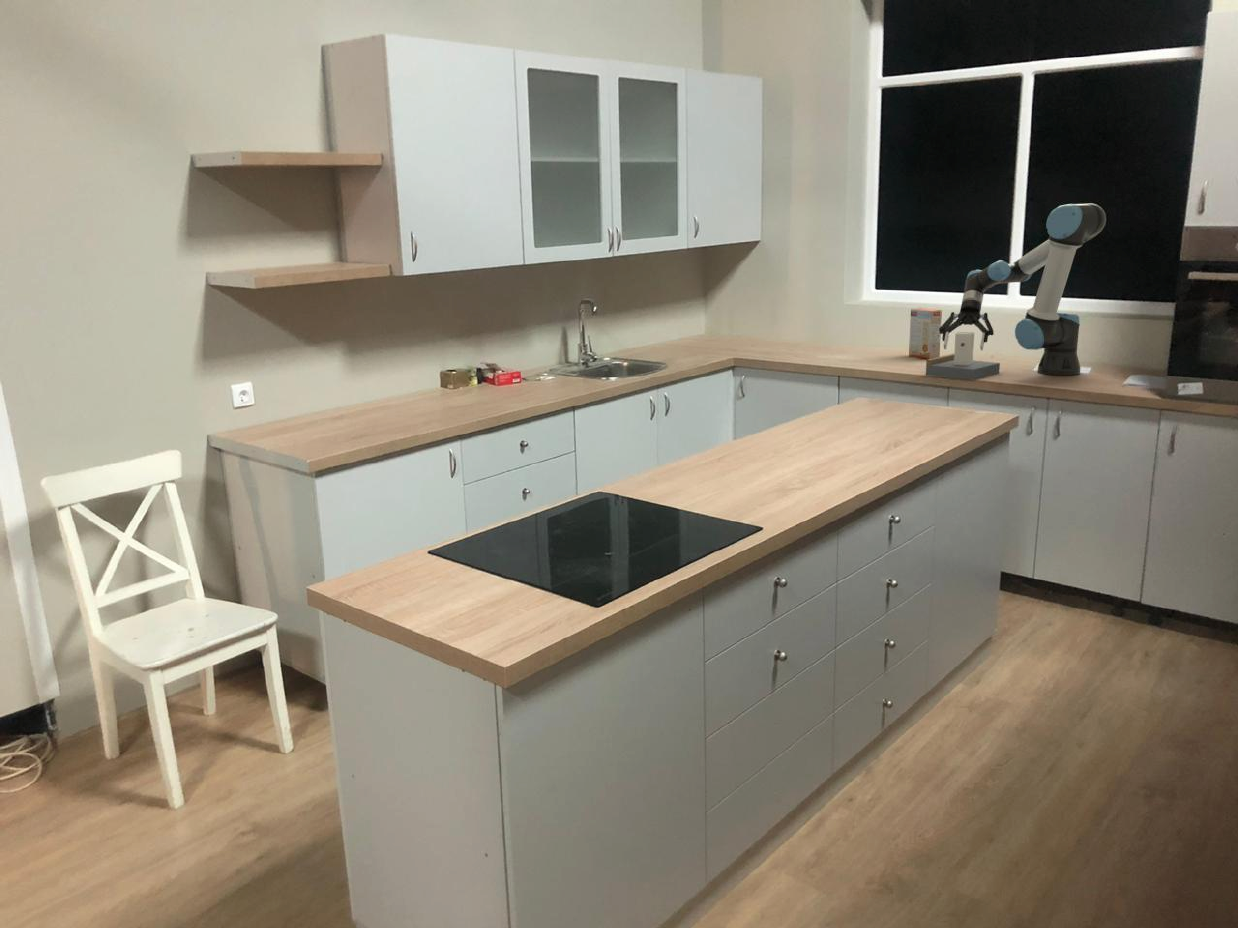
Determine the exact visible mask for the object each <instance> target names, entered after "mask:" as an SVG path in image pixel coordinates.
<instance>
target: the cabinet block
mask: <svg viewBox="0 0 1238 928" xmlns="http://www.w3.org/2000/svg"><path fill="white" fill-rule="evenodd" d="M954 336H955V338H954V353H953V354H954V365H971V364H972V363H973V360H974V359H973V358H974V341H975V332H971V331H970V332H968V331H967V332H966V331H965V332H964V331H958V332H956V333H955V335H954Z"/></svg>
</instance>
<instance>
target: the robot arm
mask: <svg viewBox="0 0 1238 928" xmlns="http://www.w3.org/2000/svg"><path fill="white" fill-rule="evenodd" d="M1106 224H1107V216H1106V212H1105V211H1104V209H1103V208H1102V207H1101V206H1099V205H1098V204H1095V203H1068V204H1063V205H1059V206H1058V207H1056V208H1054V209H1053V210H1052V211H1051V212H1050V213H1049V215H1048V216H1047V219H1046V224H1045V225H1046V227H1045V228H1046V229H1047V233H1048V235H1049V236H1048V239H1047V240H1045V241H1044V242H1042V243H1041V244H1039V245H1038V246H1036V247H1034V248H1033V249H1032V250H1030V251H1029V252H1027V253H1026V254H1024V256H1023V255H1022V257H1020V258H1019V259H1017V260H1015V261H1014V262H1011V263H1008V262H1006V261H1004V260H1001V259H999V260H997V261H995V262H993V263H990V264H989V266H987V267H985V268H984V269H982V270H981V269H975V270H971V271H969V272H968V274H967V276H966V279H965V284H964V292H963V296H962V299H961V300H962V301H961V306H960V310H959V312H958V313H955V312H953V311H952V312H950V315H949V317H948V318H947V319H946V320H945V321H944V323H943V324H941V327H940V328H939V332H940V334H941V335H942V338H941V339H942V342H943V349H944V350H947V347H948V342H949V337H950V335H949V334H950V333H952V332H953V331H954V330H955V329H957V328H958V327H961V326H962V325H964V326H966V325H969V326H972V325H974V326H975V327H977V329H978V330H979V331H980V332H981V339H980V344H979V347H980V348H979V349H980V351H983V349H984V345H985V343H988V338H989V337H990V336H993V335H995V334H994V333H995V332H994V329H993V326H992V324H991V322H990V320H989V317H988V312H984V313H983V314H981V309H982V305H983V301H984V294H985V292H986V291H987V290H989V289H990V288H993V287H994V286H996V285H999V284H1011V283H1022V282H1027V281H1028V280H1030V279H1031V277H1032V275H1033V274H1034V273H1036V272H1037V271H1038V270H1039V269H1041V268H1043V267H1044V269H1043V271H1042V275H1041V278H1040V282H1039V285H1038V288H1037V292H1036V296H1035V299H1034V303H1033V305H1032V307H1030V308H1029V309H1027V311H1026V314H1025V317H1024V318H1022V320H1020V321H1019V322H1018V323H1016V326H1015V328H1014V336H1015V340H1016V341H1017V343H1018V345H1019V346H1020V347H1022V348H1024V349H1025V350H1034V351H1035V350H1040V349H1043V354H1042V356H1041V358H1040V361H1039V362H1038V365H1037V373H1039V374H1042V375H1049V376H1050V375H1051V376H1075V375H1079V374H1081V364H1080V361H1079V357H1078V343H1079V331H1080V325H1081V323H1080V316H1079V315H1078V314H1074V313H1066V312H1065V313H1064V312H1058V310H1059V306H1060V303H1061V300H1062V296H1063V294H1064V289H1065V288H1066V287H1065V286H1066V284H1067V281H1068V277H1069V274H1070V272H1071V268H1072V265H1073V261H1074V258H1075V255H1076V252H1077V249H1079V248H1081V247H1082V246H1083V244H1084V243H1086V242H1088V241H1090V240H1092V239H1093V238H1094V237H1096V236H1097V235H1098V234H1099V233H1101V232H1102V231H1103V229H1104V227H1105V226H1106ZM980 319H981V320H982V321H984V323H985V325H986V326H984V325H983V324H982V323H981V321H980Z"/></svg>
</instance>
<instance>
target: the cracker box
mask: <svg viewBox="0 0 1238 928" xmlns="http://www.w3.org/2000/svg"><path fill="white" fill-rule="evenodd" d="M942 313H943V311H942V310H940V309H934V308H923V307H922V308H921V307H918V308H917V307H916V308H911V309H910V320H909V321H910V324H909V340H908V341H909V346H908V347H909V348H908V357H909V356H910V357H914V358H920V359H925V360H927V359H932V358H936V357H941V356H940V355H941V354H940V351H941V339H942V338H941V335H942V334H940V332H939V328H940V327H941V326H942V315H943V314H942Z"/></svg>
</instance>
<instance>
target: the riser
mask: <svg viewBox="0 0 1238 928" xmlns="http://www.w3.org/2000/svg"><path fill="white" fill-rule="evenodd" d="M925 360H926V362H925V363H926V364H925V367H926V368H925V375H926V376H933V377H941V378H942V377H943V378H950V379H959V380H961V379H962V380H967V381H968V380H970V381H974V380H978V379H979V380H980V379H982V378H987V377H990V376H993V375H997V374H999V373H1000V366H1001V363H1000V362H995V361H982V360H974V359H973V363H972V364H971V365H954V353H950V354H945V355H942V356H939V357H936V358H932V359H925Z"/></svg>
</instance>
